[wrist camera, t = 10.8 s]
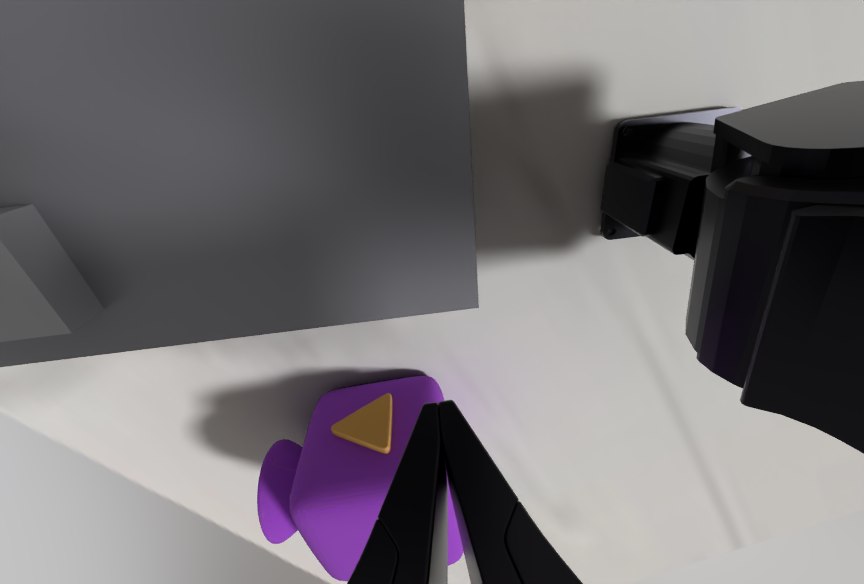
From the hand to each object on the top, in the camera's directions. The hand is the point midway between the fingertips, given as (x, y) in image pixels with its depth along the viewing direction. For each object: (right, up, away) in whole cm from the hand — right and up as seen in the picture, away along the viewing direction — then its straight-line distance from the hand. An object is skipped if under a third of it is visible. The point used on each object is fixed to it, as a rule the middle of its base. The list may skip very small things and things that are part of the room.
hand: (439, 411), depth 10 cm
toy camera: (-5, -7, +19) cm, 21 cm away
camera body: (-11, +10, +8) cm, 17 cm away
